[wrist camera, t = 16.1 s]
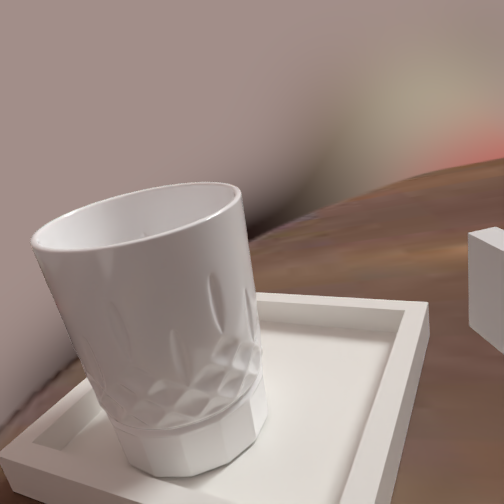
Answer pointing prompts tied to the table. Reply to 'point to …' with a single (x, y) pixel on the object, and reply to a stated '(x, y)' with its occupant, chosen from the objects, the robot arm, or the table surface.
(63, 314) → the white cup
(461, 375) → the table surface
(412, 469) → the table surface
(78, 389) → the tray
